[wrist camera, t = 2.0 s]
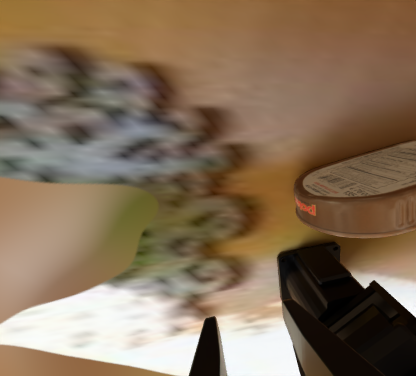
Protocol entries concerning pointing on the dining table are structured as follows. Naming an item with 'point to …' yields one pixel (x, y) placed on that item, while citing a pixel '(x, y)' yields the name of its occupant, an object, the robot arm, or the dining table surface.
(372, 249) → the dining table surface
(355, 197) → the tin
